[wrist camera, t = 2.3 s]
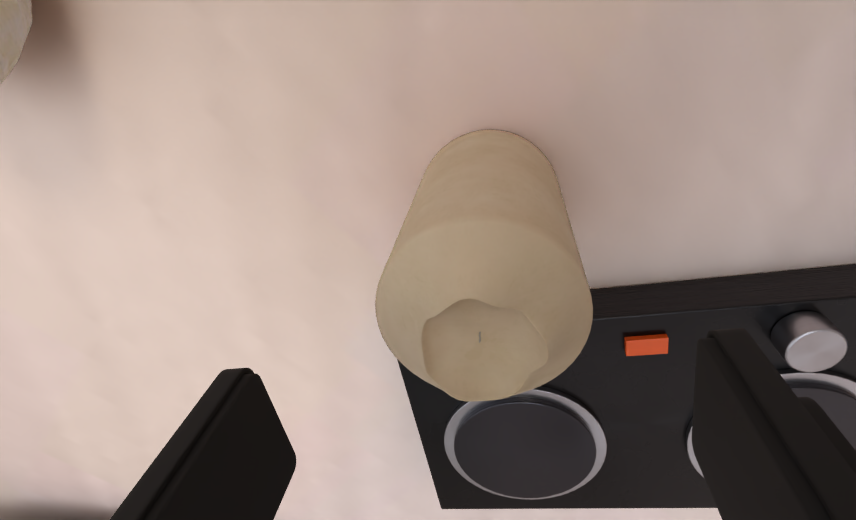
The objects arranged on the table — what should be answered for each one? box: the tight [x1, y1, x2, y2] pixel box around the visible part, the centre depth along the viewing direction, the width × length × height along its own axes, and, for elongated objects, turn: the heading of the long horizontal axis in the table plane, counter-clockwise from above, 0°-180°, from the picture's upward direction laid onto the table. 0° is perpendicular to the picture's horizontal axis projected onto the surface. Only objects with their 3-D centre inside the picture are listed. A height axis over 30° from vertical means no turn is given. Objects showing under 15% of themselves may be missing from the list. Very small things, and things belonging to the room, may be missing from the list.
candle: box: [375, 130, 593, 402], centre depth 15 cm, size 6×6×10 cm
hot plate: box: [397, 264, 856, 509], centre depth 22 cm, size 12×21×3 cm, turn 102°
